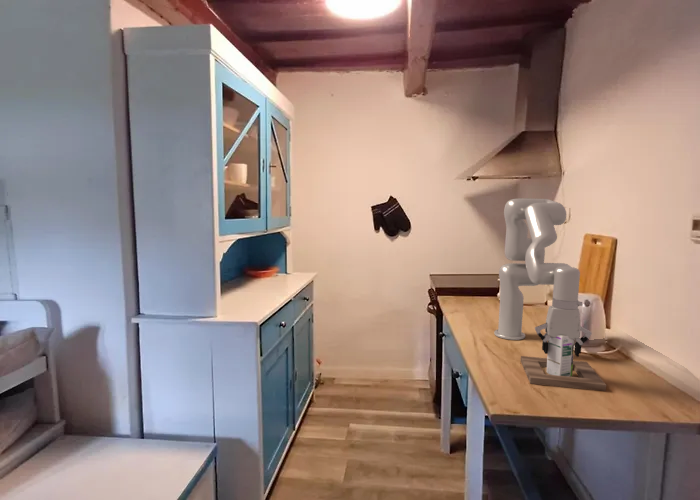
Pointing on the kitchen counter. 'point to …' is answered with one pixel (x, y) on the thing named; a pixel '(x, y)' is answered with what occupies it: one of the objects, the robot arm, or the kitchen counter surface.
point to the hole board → (583, 370)
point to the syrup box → (560, 356)
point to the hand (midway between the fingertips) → (560, 353)
